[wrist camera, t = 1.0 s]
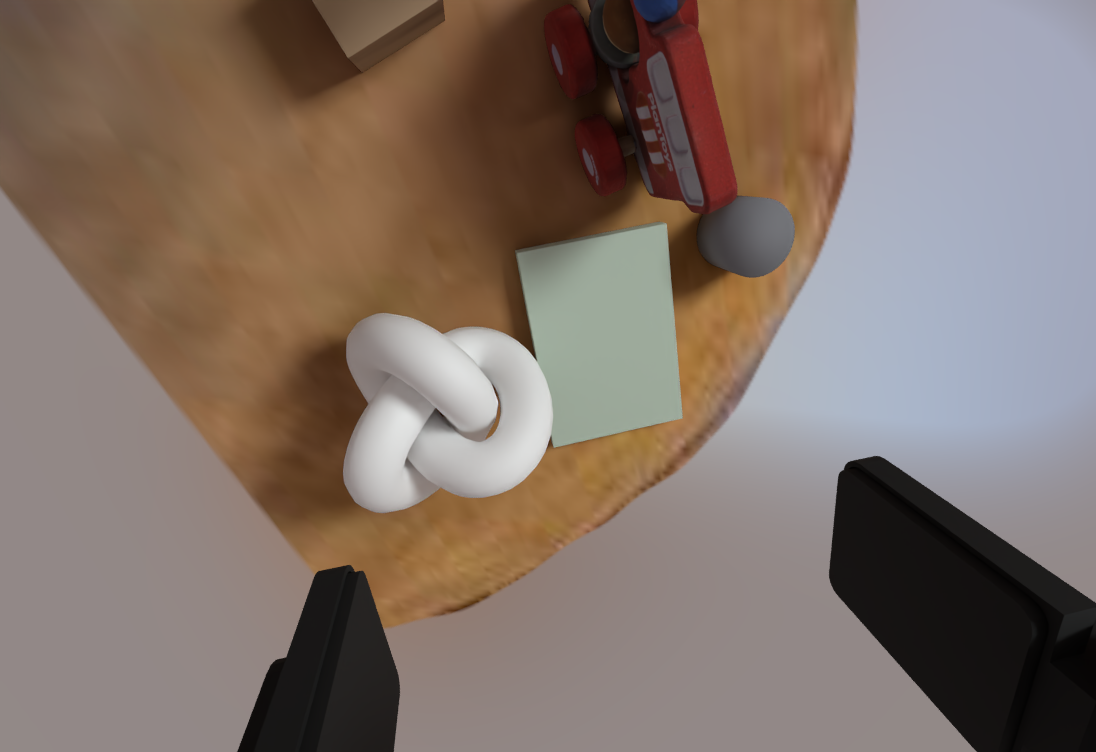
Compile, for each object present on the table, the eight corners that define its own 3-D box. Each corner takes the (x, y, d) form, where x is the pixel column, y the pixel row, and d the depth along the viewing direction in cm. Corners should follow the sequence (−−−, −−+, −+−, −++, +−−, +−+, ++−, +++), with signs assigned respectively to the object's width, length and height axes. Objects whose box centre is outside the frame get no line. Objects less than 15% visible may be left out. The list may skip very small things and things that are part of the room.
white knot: (294, 355, 32) (237, 419, 24) (457, 242, 31) (457, 268, 23) (413, 483, 37) (399, 575, 28) (559, 387, 36) (589, 452, 27)
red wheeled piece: (648, -65, 27) (750, -191, 18) (704, 177, 32) (808, 180, 23) (522, -15, 27) (557, -114, 18) (597, 220, 32) (656, 241, 23)
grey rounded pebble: (694, 202, 33) (719, 205, 29) (762, 189, 33) (794, 191, 30) (698, 273, 34) (723, 284, 31) (763, 260, 35) (794, 269, 31)
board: (514, 250, 32) (516, 253, 31) (659, 221, 33) (666, 223, 32) (550, 439, 37) (553, 447, 36) (676, 410, 38) (682, 418, 36)
